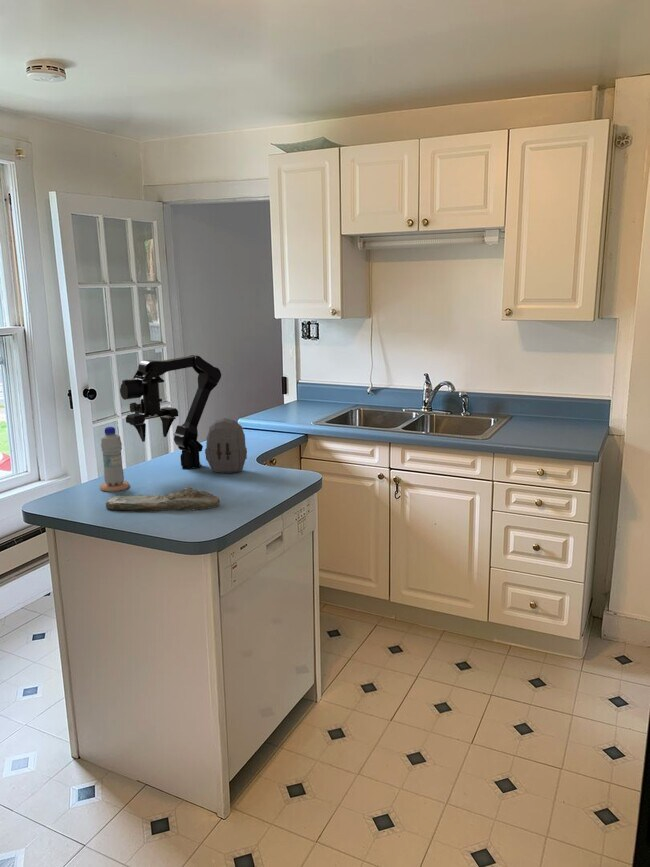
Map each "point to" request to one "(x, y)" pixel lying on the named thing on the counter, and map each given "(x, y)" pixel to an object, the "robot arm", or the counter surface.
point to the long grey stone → (165, 501)
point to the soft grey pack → (226, 446)
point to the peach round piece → (114, 488)
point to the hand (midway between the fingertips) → (154, 439)
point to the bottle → (112, 457)
